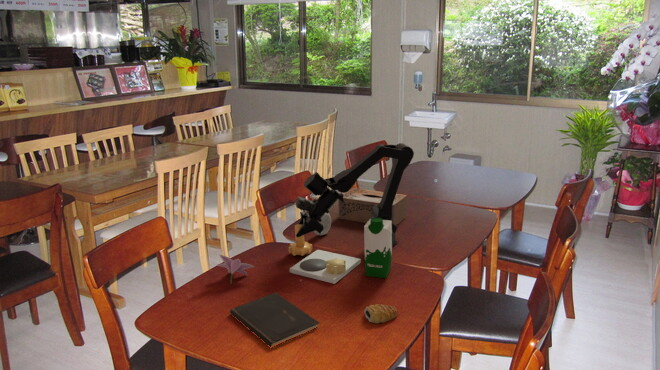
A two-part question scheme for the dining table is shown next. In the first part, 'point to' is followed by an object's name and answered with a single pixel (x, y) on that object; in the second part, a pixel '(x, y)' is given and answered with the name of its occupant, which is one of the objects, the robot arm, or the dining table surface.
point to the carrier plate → (325, 266)
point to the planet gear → (300, 244)
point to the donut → (325, 224)
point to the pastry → (380, 313)
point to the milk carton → (378, 247)
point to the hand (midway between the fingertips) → (295, 234)
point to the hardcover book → (274, 318)
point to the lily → (234, 265)
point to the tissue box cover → (369, 205)
